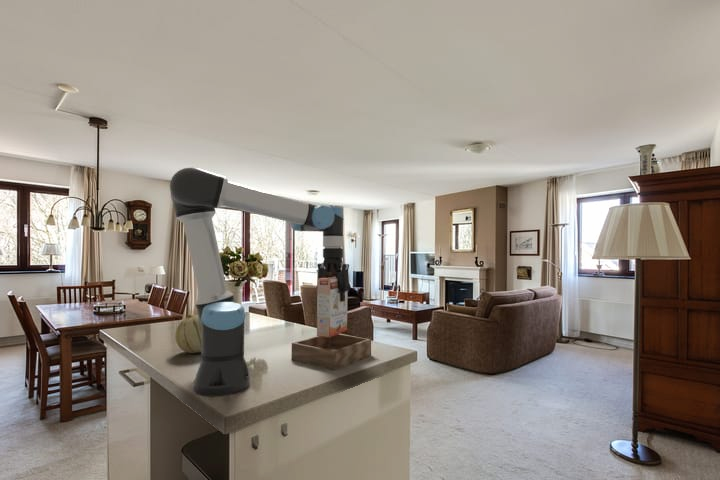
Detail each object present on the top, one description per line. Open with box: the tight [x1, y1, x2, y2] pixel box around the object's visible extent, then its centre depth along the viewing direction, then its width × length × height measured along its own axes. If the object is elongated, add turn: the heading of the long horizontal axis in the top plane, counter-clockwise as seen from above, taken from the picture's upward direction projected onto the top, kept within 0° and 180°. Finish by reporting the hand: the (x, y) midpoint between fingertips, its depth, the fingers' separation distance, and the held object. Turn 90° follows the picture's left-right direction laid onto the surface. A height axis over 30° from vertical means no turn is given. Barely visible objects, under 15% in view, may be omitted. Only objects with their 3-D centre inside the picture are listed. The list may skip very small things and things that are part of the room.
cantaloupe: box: [174, 313, 202, 354], centre depth 139 cm, size 15×15×15 cm
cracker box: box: [316, 276, 349, 338], centre depth 134 cm, size 14×6×21 cm, turn 156°
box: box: [291, 333, 372, 371], centre depth 133 cm, size 22×20×6 cm
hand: (332, 309), depth 134 cm, fingers closed on cracker box, 6 cm apart
